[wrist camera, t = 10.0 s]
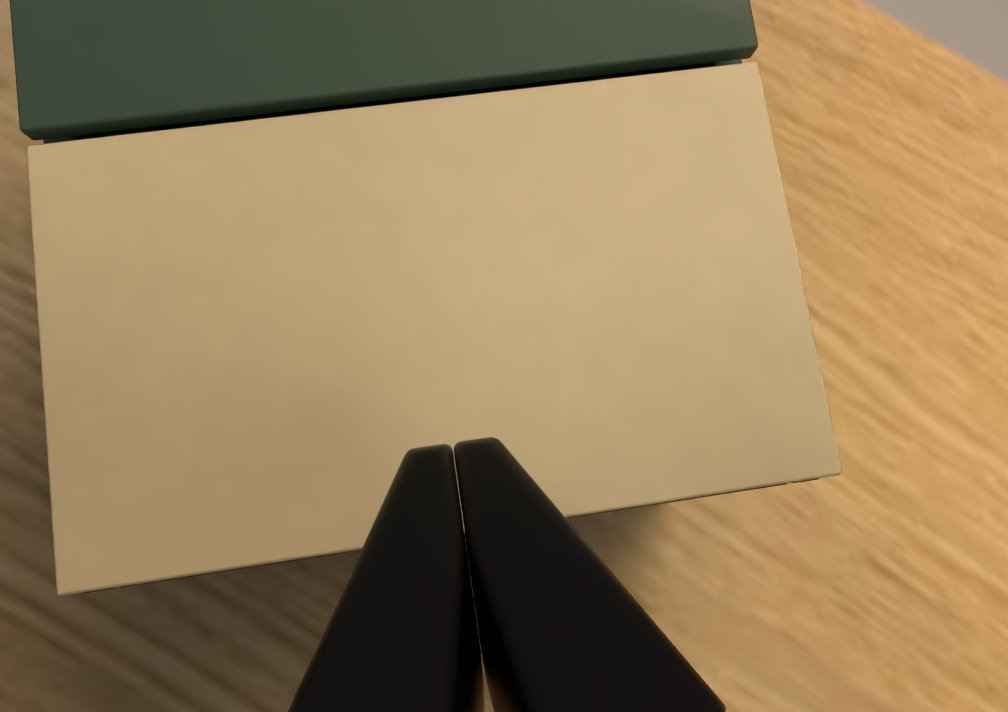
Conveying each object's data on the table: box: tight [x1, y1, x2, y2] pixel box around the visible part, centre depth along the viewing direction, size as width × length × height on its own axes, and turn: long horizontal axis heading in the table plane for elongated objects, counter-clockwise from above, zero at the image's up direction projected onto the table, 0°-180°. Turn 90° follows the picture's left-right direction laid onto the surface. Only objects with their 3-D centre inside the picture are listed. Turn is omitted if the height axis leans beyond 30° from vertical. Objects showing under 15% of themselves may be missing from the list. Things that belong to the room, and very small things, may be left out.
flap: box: [26, 62, 842, 596], centre depth 12 cm, size 6×11×1 cm, turn 98°
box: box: [10, 0, 819, 593], centre depth 17 cm, size 13×11×9 cm
